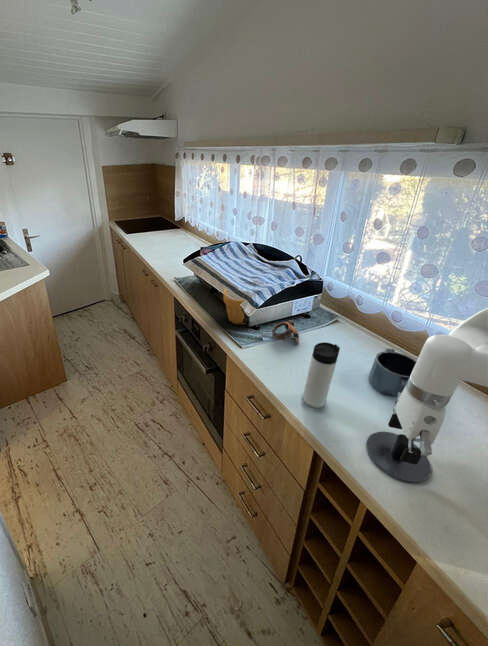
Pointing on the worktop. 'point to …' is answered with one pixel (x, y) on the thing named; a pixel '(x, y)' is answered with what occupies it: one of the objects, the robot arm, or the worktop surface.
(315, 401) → the travel mug
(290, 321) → the brown goggles
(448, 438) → the worktop surface
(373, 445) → the lid
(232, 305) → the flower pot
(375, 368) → the pot
